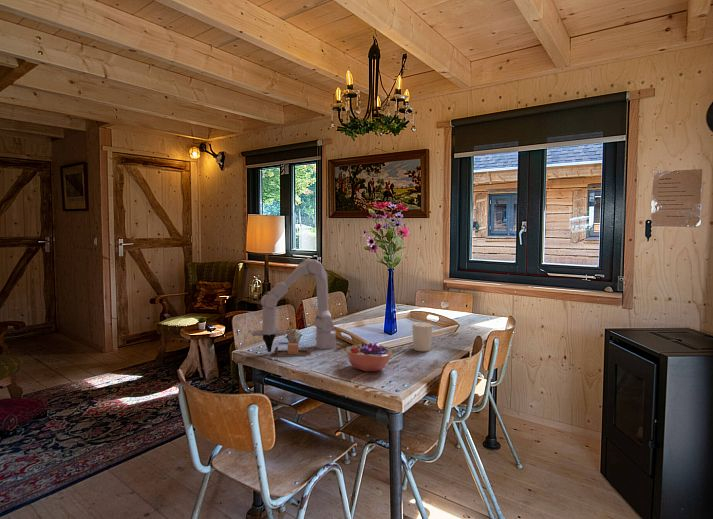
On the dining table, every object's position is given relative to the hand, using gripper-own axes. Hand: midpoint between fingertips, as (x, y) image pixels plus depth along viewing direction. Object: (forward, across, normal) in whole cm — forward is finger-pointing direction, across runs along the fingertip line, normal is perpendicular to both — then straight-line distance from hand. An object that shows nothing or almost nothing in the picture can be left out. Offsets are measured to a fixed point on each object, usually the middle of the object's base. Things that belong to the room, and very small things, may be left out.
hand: (269, 351), depth 194 cm
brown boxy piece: (+3, +10, 0) cm, 11 cm away
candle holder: (+3, +72, +8) cm, 72 cm away
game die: (+3, +10, +22) cm, 24 cm away
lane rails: (+3, +10, 0) cm, 10 cm away
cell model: (+3, +42, -20) cm, 47 cm away
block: (+1, +10, 0) cm, 11 cm away
